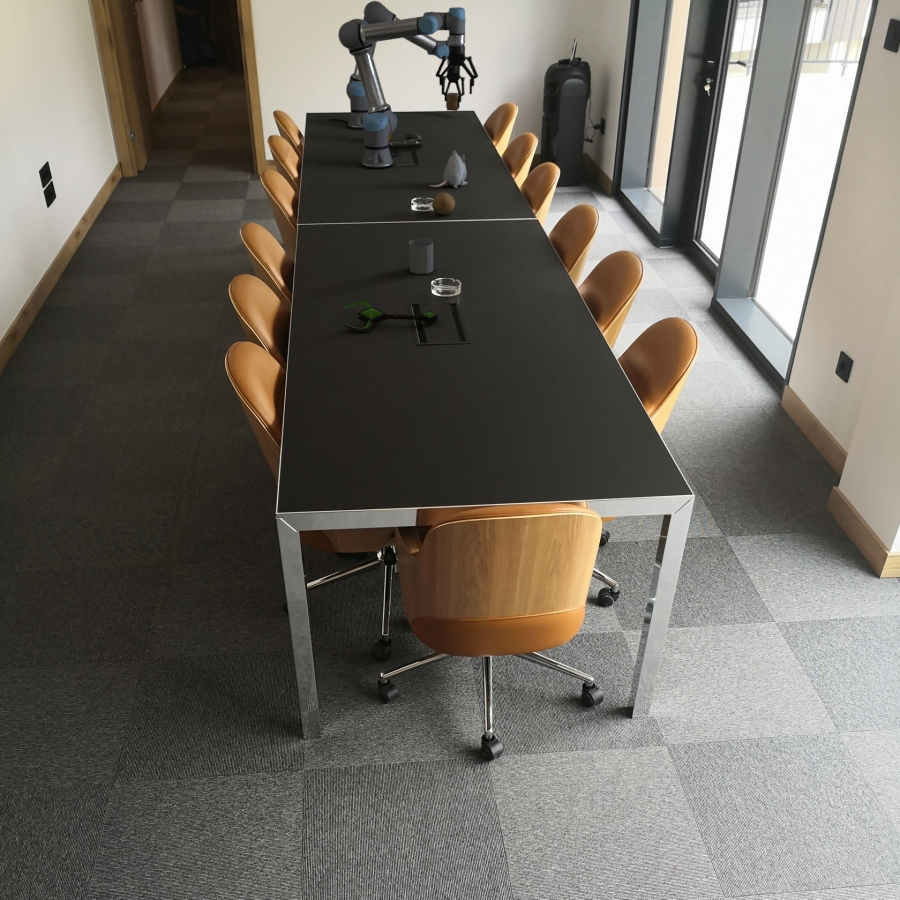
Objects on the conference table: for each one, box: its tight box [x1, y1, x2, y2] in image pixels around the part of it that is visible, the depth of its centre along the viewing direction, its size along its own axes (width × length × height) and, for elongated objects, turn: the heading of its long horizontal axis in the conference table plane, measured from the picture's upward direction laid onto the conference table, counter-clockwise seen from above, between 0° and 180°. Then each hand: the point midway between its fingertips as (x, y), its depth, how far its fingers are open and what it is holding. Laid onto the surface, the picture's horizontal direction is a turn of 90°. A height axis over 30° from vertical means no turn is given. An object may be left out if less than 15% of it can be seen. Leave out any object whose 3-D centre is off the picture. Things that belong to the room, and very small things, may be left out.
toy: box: [428, 149, 468, 189], centre depth 390 cm, size 9×24×15 cm, turn 137°
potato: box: [431, 192, 456, 216], centre depth 360 cm, size 10×14×8 cm
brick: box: [446, 92, 460, 112], centre depth 515 cm, size 6×7×9 cm
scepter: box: [341, 300, 440, 333], centre depth 268 cm, size 6×13×30 cm
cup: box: [408, 237, 434, 275], centre depth 305 cm, size 8×8×10 cm
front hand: (456, 93), depth 415 cm, fingers open, 13 cm apart
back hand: (452, 107), depth 517 cm, fingers closed on brick, 6 cm apart
